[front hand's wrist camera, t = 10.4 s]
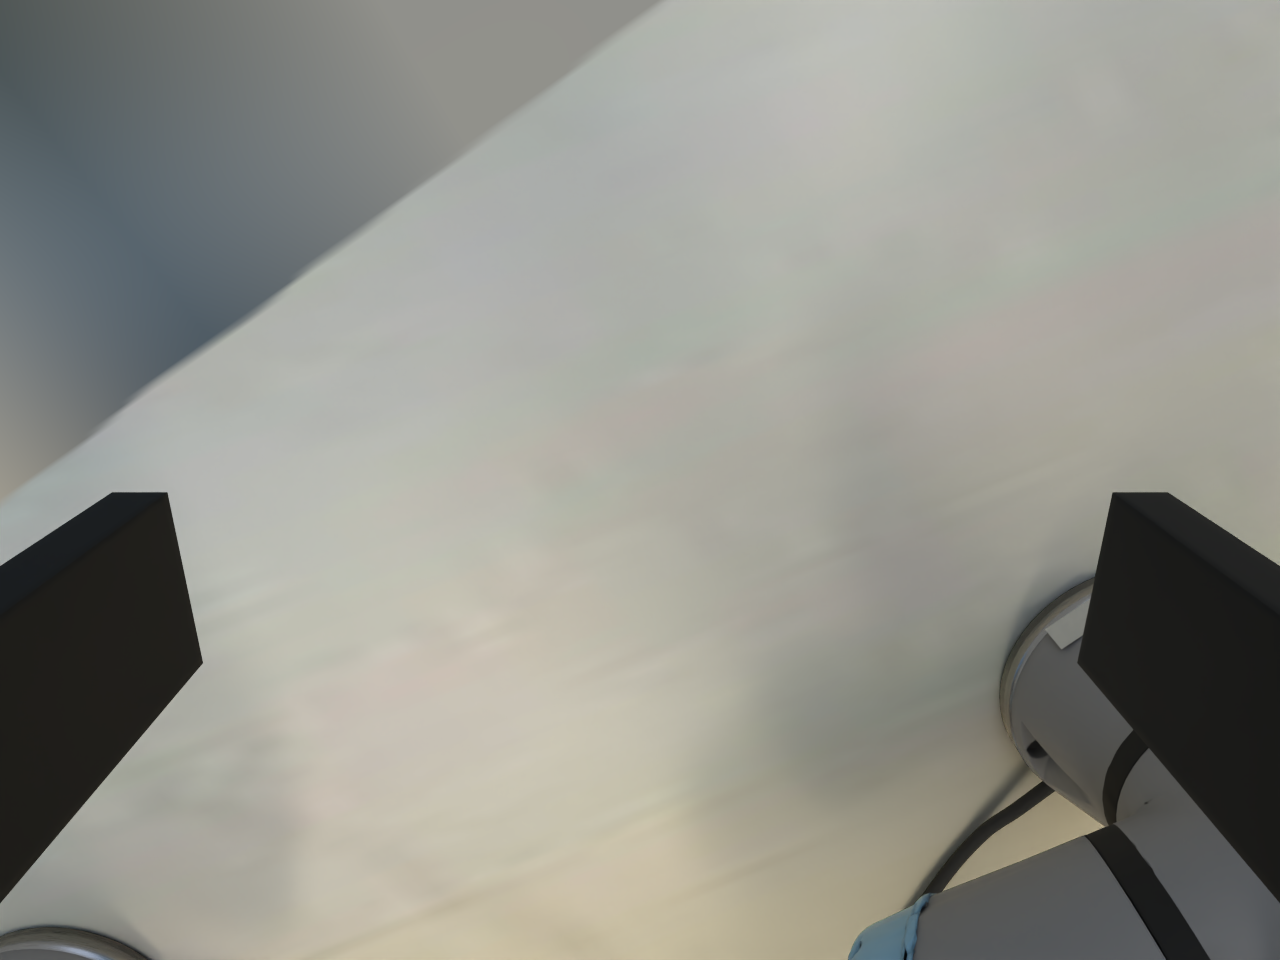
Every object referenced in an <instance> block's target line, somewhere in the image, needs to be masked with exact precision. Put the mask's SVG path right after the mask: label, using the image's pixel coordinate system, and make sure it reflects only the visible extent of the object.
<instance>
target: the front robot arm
mask: <svg viewBox="0 0 1280 960" xmlns="http://www.w3.org/2000/svg"><path fill="white" fill-rule="evenodd" d="M202 663H203V661H202V656H201V651H200V647H199V642H198V637H197V632H196V627H195V623H194V618H193V613H192V608H191V604H190V599H189V594H188V589H187V584H186V580H185V575H184V570H183V565H182V560H181V556H180V551H179V546H178V541H177V536H176V532H175V527H174V522H173V517H172V512H171V508H170V503H169V498H168V493H167V492H112V493H111V494H109V495H108V496H106V497H105V498H103V499H101V500H100V501H98V502H97V503H95V504H94V505H92V506H91V507H89V508H88V509H86V510H85V511H83V512H82V513H80V514H79V515H77V516H76V517H74V518H73V519H71V520H70V521H68V522H67V523H65V524H63V525H62V526H60V527H59V528H57V529H56V530H54V531H53V532H51V533H50V534H48V535H47V536H45V537H44V538H42V539H41V540H39V541H38V542H36V543H35V544H33V545H32V546H30V547H29V548H27V549H26V550H24V551H22V552H21V553H19V554H18V555H16V556H15V557H13V558H12V559H10V560H9V561H7V562H6V563H4V564H3V565H1V566H0V903H1V902H2V900H3V899H4V898H5V897H6V896H7V895H8V893H9V892H10V891H11V890H12V889H13V887H14V886H15V885H16V884H17V883H18V881H19V880H20V879H21V878H22V877H23V876H24V874H25V873H26V872H27V871H28V870H29V868H30V867H31V866H32V865H33V864H34V863H35V861H36V860H37V859H38V858H39V857H40V855H41V854H42V853H43V852H44V851H45V849H46V848H47V847H48V846H49V845H50V844H51V842H52V841H53V840H54V839H55V838H56V836H57V835H58V834H59V833H60V832H61V831H62V829H63V828H64V827H65V826H66V825H67V823H68V822H69V821H70V820H71V819H72V818H73V816H74V815H75V814H76V813H77V812H78V810H79V809H80V808H81V807H82V806H83V804H84V803H85V802H86V801H87V800H88V799H89V797H90V796H91V795H92V794H93V793H94V791H95V790H96V789H97V788H98V787H99V786H100V784H101V783H102V782H103V781H104V780H105V778H106V777H107V776H108V775H109V774H110V772H111V771H112V770H113V769H114V768H115V767H116V765H117V764H118V763H119V762H120V761H121V759H122V758H123V757H124V756H125V755H126V754H127V752H128V751H129V750H130V749H131V748H132V746H133V745H134V744H135V743H136V742H137V740H138V739H139V738H140V737H141V736H142V735H143V733H144V732H145V731H146V730H147V729H148V727H149V726H150V725H151V724H152V723H153V722H154V720H155V719H156V718H157V717H158V716H159V714H160V713H161V712H162V711H163V710H164V708H165V707H166V706H167V705H168V704H169V703H170V701H171V700H172V699H173V698H174V697H175V695H176V694H177V693H178V692H179V691H180V690H181V688H182V687H183V686H184V685H185V684H186V682H187V681H188V680H189V679H190V678H191V677H192V675H193V674H194V673H195V672H196V671H197V669H198V668H199V667H200V666H201V665H202ZM1000 709H1001V714H1002V719H1003V722H1004V725H1005V728H1006V730H1007V733H1008V735H1009V737H1010V739H1011V740H1012V742H1013V743H1014V745H1015V747H1016V748H1017V750H1018V751H1019V753H1020V755H1021V756H1022V758H1023V759H1024V761H1025V763H1026V764H1027V765H1028V766H1029V768H1030V769H1031V770H1032V771H1033V772H1034V773H1035V774H1036V775H1037V776H1038V777H1039V778H1040V779H1041V780H1043V781H1042V782H1041V783H1039V784H1038V785H1037V786H1035V787H1034V788H1033V789H1031V790H1030V791H1029V792H1027V793H1026V794H1025V795H1023V796H1022V797H1021V798H1019V799H1018V800H1017V801H1015V802H1014V803H1013V804H1011V805H1010V806H1008V807H1007V808H1005V809H1004V810H1002V811H1000V812H999V813H997V814H996V815H994V816H993V817H991V818H990V819H988V820H987V821H986V822H984V823H983V824H982V825H981V826H980V827H979V828H978V829H976V830H975V831H974V832H973V833H972V834H971V835H970V836H969V837H968V838H967V839H966V840H965V841H964V842H963V844H962V845H961V846H960V847H959V848H958V849H957V850H956V851H955V852H954V854H953V855H952V856H951V857H950V858H949V860H948V861H947V862H946V863H945V865H944V866H943V867H942V869H941V870H940V871H939V872H938V874H937V875H936V877H935V878H934V879H933V881H932V882H931V884H930V885H929V886H928V888H927V889H926V891H925V892H924V893H923V895H922V896H921V897H920V898H919V899H918V900H917V901H916V902H915V904H914V905H912V906H910V907H908V908H906V909H904V910H902V911H900V912H898V913H896V914H894V915H891V916H889V917H887V918H885V919H883V920H881V921H879V922H876V923H874V924H872V925H870V926H869V927H867V928H866V929H865V930H864V931H862V932H861V933H860V935H859V936H858V937H857V939H856V940H855V942H854V944H853V946H852V949H851V952H850V954H849V957H848V960H1280V566H1279V565H1277V564H1276V563H1274V562H1273V561H1271V560H1270V559H1268V558H1267V557H1265V556H1264V555H1262V554H1261V553H1259V552H1258V551H1256V550H1254V549H1253V548H1251V547H1250V546H1248V545H1247V544H1245V543H1244V542H1242V541H1241V540H1239V539H1238V538H1236V537H1235V536H1233V535H1232V534H1230V533H1229V532H1227V531H1226V530H1224V529H1223V528H1221V527H1220V526H1218V525H1217V524H1215V523H1213V522H1212V521H1210V520H1209V519H1207V518H1206V517H1204V516H1203V515H1201V514H1200V513H1198V512H1197V511H1195V510H1194V509H1192V508H1191V507H1189V506H1188V505H1186V504H1185V503H1183V502H1182V501H1180V500H1179V499H1177V498H1175V497H1174V496H1172V495H1171V494H1169V493H1168V492H1113V493H1112V498H1111V503H1110V508H1109V512H1108V517H1107V522H1106V527H1105V532H1104V536H1103V541H1102V546H1101V551H1100V556H1099V560H1098V565H1097V570H1096V575H1095V577H1094V578H1092V579H1090V580H1087V581H1085V582H1083V583H1081V584H1080V585H1078V586H1076V587H1074V588H1072V589H1071V590H1069V591H1067V592H1066V593H1064V594H1063V595H1061V596H1060V597H1058V598H1057V599H1056V600H1054V601H1053V602H1052V603H1050V604H1049V605H1048V606H1047V607H1046V608H1045V609H1044V610H1043V611H1041V612H1040V613H1039V614H1038V615H1037V616H1036V617H1035V619H1034V620H1033V621H1032V622H1031V623H1030V624H1029V625H1028V627H1027V628H1026V629H1025V630H1024V632H1023V633H1022V634H1021V636H1020V637H1019V639H1018V640H1017V642H1016V644H1015V645H1014V647H1013V649H1012V651H1011V653H1010V655H1009V658H1008V660H1007V663H1006V665H1005V668H1004V672H1003V675H1002V681H1001V686H1000ZM1054 791H1056V792H1058V793H1059V794H1060V795H1062V796H1063V797H1065V798H1066V799H1067V800H1069V801H1070V802H1072V803H1073V804H1074V805H1076V806H1077V807H1078V808H1080V809H1081V810H1083V811H1084V812H1085V813H1087V814H1088V815H1090V816H1091V817H1092V818H1094V819H1095V820H1097V821H1098V822H1099V823H1101V824H1102V825H1104V826H1105V828H1102V829H1100V830H1097V831H1095V832H1092V833H1090V834H1088V835H1084V836H1081V837H1078V838H1076V839H1074V840H1071V841H1069V842H1066V843H1064V844H1061V845H1059V846H1056V847H1054V848H1052V849H1049V850H1047V851H1044V852H1042V853H1039V854H1037V855H1034V856H1032V857H1030V858H1027V859H1025V860H1022V861H1020V862H1017V863H1015V864H1012V865H1010V866H1007V867H1004V868H1002V869H999V870H997V871H994V872H992V873H989V874H986V875H984V876H981V877H979V878H976V879H974V880H971V881H968V882H966V883H963V884H961V885H958V886H956V887H953V888H950V889H948V890H945V891H943V889H944V888H945V887H946V885H947V884H948V883H949V881H950V880H951V879H952V877H953V876H954V875H955V873H956V872H957V871H958V870H959V869H960V867H961V866H962V865H963V864H964V863H965V862H966V860H967V859H968V858H969V857H970V856H971V855H972V854H973V853H974V852H975V851H976V850H977V849H978V848H979V847H980V846H981V845H982V844H983V843H984V842H985V841H986V840H987V839H988V838H989V837H990V836H992V835H993V834H994V833H995V832H997V831H998V830H999V829H1001V828H1002V827H1004V826H1006V825H1007V824H1009V823H1010V822H1012V821H1014V820H1015V819H1017V818H1018V817H1020V816H1021V815H1023V814H1024V813H1025V812H1027V811H1028V810H1030V809H1031V808H1032V807H1034V806H1035V805H1036V804H1038V803H1039V802H1041V801H1042V800H1043V799H1045V798H1046V797H1047V796H1049V795H1050V794H1051V793H1053V792H1054ZM942 891H943V892H942Z"/></svg>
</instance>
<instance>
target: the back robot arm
mask: <svg viewBox="0 0 1280 960" xmlns="http://www.w3.org/2000/svg"><path fill="white" fill-rule="evenodd" d="M0 960H148V959H147V958H145V957H144V956H142V955H141V954H139V953H138V952H136V951H134V950H132V949H131V948H129V947H127V946H125V945H123V944H121V943H119V942H116V941H114V940H111V939H109V938H106V937H103V936H100V935H97V934H93V933H89V932H85V931H80V930H75V929H67V928H54V927H43V928H31V929H24V930H19V931H15V932H12V933H8V934H5V935H3V936H0Z"/></svg>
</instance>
